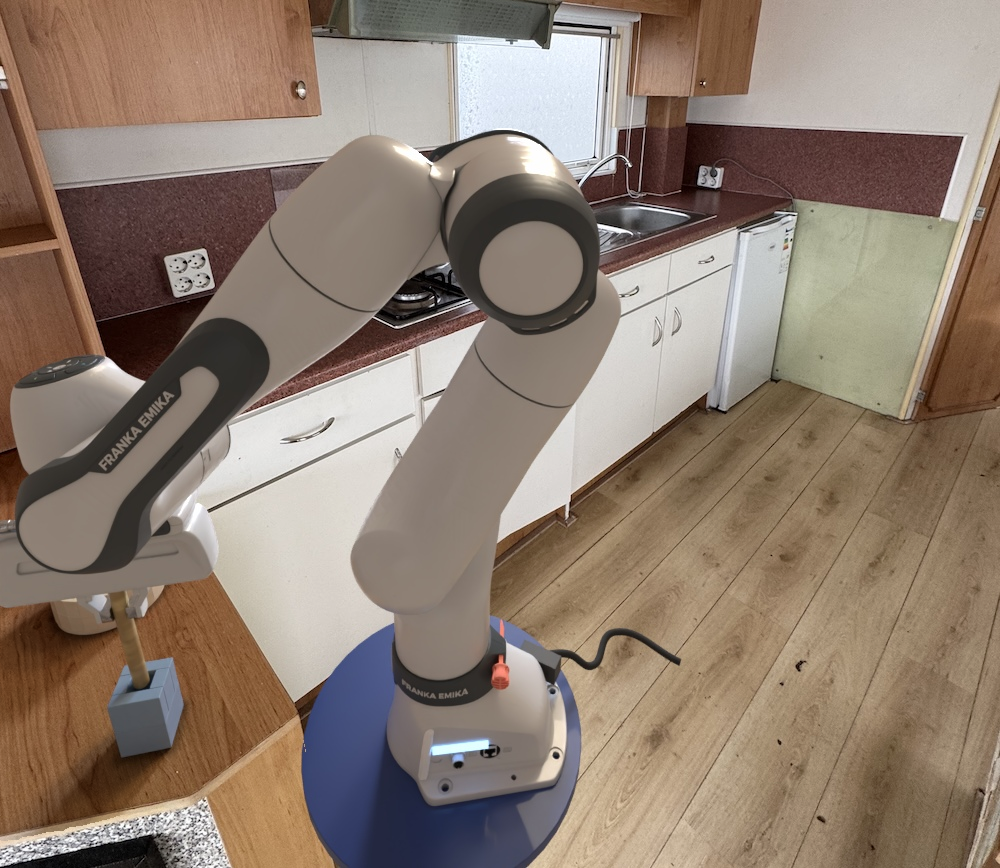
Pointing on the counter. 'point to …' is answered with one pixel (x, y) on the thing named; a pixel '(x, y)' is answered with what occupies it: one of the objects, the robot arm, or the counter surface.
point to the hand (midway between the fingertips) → (123, 615)
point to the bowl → (89, 614)
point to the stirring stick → (129, 640)
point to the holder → (146, 709)
